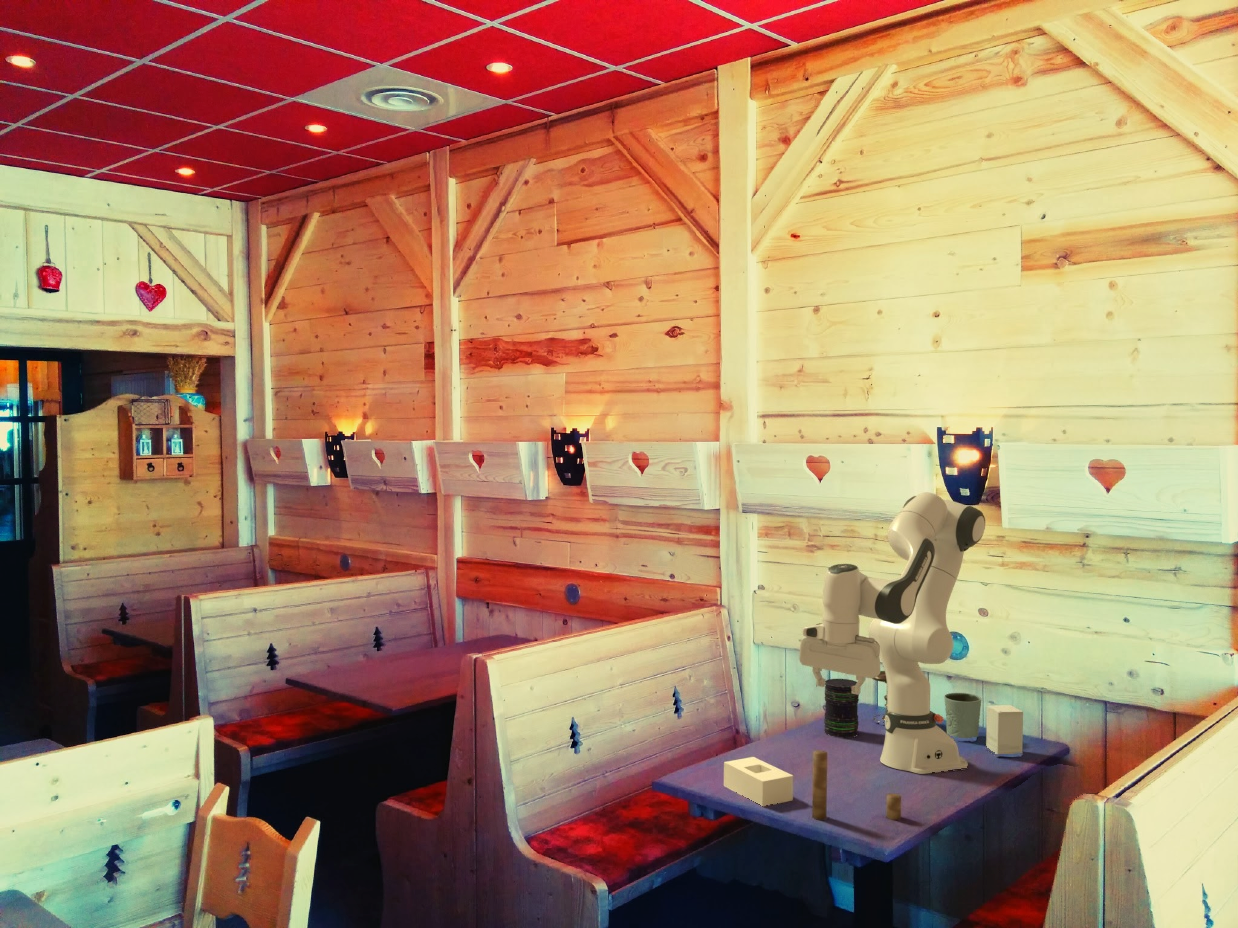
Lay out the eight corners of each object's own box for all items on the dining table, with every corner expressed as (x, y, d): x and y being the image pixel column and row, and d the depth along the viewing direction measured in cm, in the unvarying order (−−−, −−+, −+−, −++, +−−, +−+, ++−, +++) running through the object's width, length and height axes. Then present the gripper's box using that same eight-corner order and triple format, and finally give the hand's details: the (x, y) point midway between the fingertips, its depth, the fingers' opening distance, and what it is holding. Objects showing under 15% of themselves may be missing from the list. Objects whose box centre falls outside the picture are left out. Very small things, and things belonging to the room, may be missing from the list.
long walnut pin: (823, 814, 240) (824, 750, 239) (828, 819, 237) (829, 754, 236) (810, 814, 239) (811, 750, 239) (814, 819, 236) (815, 754, 236)
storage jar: (821, 727, 309) (821, 678, 309) (854, 728, 309) (854, 678, 309) (827, 737, 299) (828, 686, 299) (861, 738, 299) (862, 686, 299)
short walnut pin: (897, 814, 240) (897, 793, 240) (903, 819, 237) (903, 798, 237) (884, 815, 240) (884, 793, 239) (889, 820, 236) (890, 798, 236)
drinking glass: (984, 736, 302) (985, 695, 301) (975, 745, 293) (975, 703, 293) (949, 730, 307) (950, 690, 307) (939, 739, 299) (939, 697, 299)
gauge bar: (753, 780, 263) (753, 756, 263) (792, 800, 249) (793, 775, 249) (723, 785, 258) (723, 761, 258) (762, 806, 244) (762, 781, 244)
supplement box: (1023, 757, 283) (1024, 711, 282) (996, 757, 282) (997, 711, 282) (1010, 749, 290) (1011, 704, 290) (985, 749, 290) (986, 704, 289)
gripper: (886, 637, 243) (884, 695, 244) (810, 624, 257) (808, 680, 257) (873, 640, 238) (871, 700, 239) (796, 627, 252) (794, 684, 252)
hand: (838, 689), depth 248 cm, fingers open, 8 cm apart
